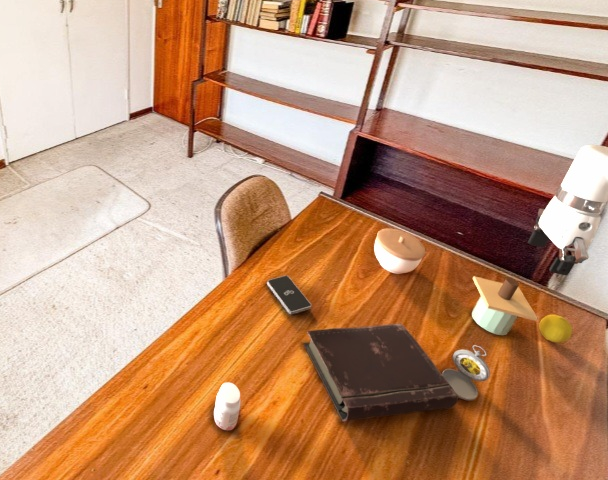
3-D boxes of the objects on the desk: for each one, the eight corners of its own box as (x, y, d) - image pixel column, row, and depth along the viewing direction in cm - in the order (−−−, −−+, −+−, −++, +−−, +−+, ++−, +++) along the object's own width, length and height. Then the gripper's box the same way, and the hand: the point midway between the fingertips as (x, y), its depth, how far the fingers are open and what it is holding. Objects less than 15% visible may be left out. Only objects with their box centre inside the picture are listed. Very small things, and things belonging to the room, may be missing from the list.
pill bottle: (237, 408, 82) (242, 383, 79) (236, 434, 78) (242, 408, 74) (214, 402, 83) (218, 377, 80) (212, 427, 79) (217, 402, 75)
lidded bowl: (366, 268, 120) (376, 239, 115) (372, 244, 129) (382, 217, 125) (414, 288, 113) (426, 259, 109) (416, 261, 123) (428, 234, 118)
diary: (453, 412, 83) (461, 397, 81) (343, 426, 80) (350, 411, 78) (393, 332, 100) (399, 318, 98) (301, 341, 97) (305, 327, 95)
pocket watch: (445, 395, 87) (462, 365, 82) (434, 360, 94) (450, 331, 90) (489, 409, 84) (509, 380, 80) (475, 373, 91) (492, 344, 87)
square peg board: (517, 289, 103) (527, 272, 101) (536, 321, 95) (547, 303, 92) (472, 278, 106) (481, 262, 104) (487, 308, 98) (497, 290, 95)
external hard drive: (286, 280, 114) (287, 274, 113) (311, 311, 105) (312, 306, 104) (265, 285, 112) (266, 280, 111) (289, 318, 103) (291, 312, 102)
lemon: (562, 339, 100) (577, 317, 97) (562, 354, 96) (578, 332, 93) (533, 325, 104) (547, 304, 100) (532, 339, 100) (547, 317, 96)
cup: (501, 314, 106) (514, 291, 103) (514, 339, 100) (529, 316, 96) (467, 305, 109) (479, 283, 105) (477, 329, 102) (491, 306, 98)
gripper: (630, 227, 79) (589, 290, 86) (577, 182, 93) (546, 238, 101) (583, 219, 81) (546, 280, 88) (538, 176, 96) (510, 231, 103)
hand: (546, 258), depth 94 cm, fingers open, 9 cm apart
